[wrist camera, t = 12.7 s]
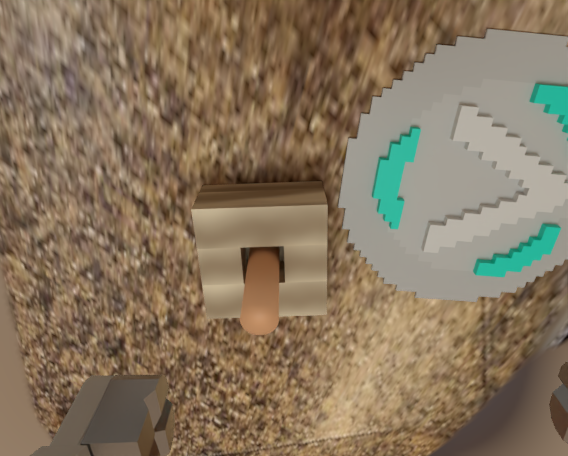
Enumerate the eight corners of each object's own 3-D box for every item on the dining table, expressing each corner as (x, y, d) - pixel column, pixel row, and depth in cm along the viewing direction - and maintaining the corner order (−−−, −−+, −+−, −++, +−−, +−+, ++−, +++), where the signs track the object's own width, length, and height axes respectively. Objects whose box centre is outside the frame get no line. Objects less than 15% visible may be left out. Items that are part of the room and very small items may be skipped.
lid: (560, 303, 51) (568, 312, 49) (324, 287, 49) (325, 295, 48) (676, 47, 38) (692, 48, 37) (366, 16, 37) (369, 17, 36)
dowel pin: (249, 232, 43) (238, 304, 33) (279, 231, 43) (277, 303, 33) (251, 258, 45) (241, 335, 34) (280, 257, 45) (279, 334, 34)
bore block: (202, 185, 43) (191, 209, 38) (322, 180, 43) (327, 204, 38) (215, 284, 49) (207, 318, 43) (321, 281, 48) (326, 314, 43)
